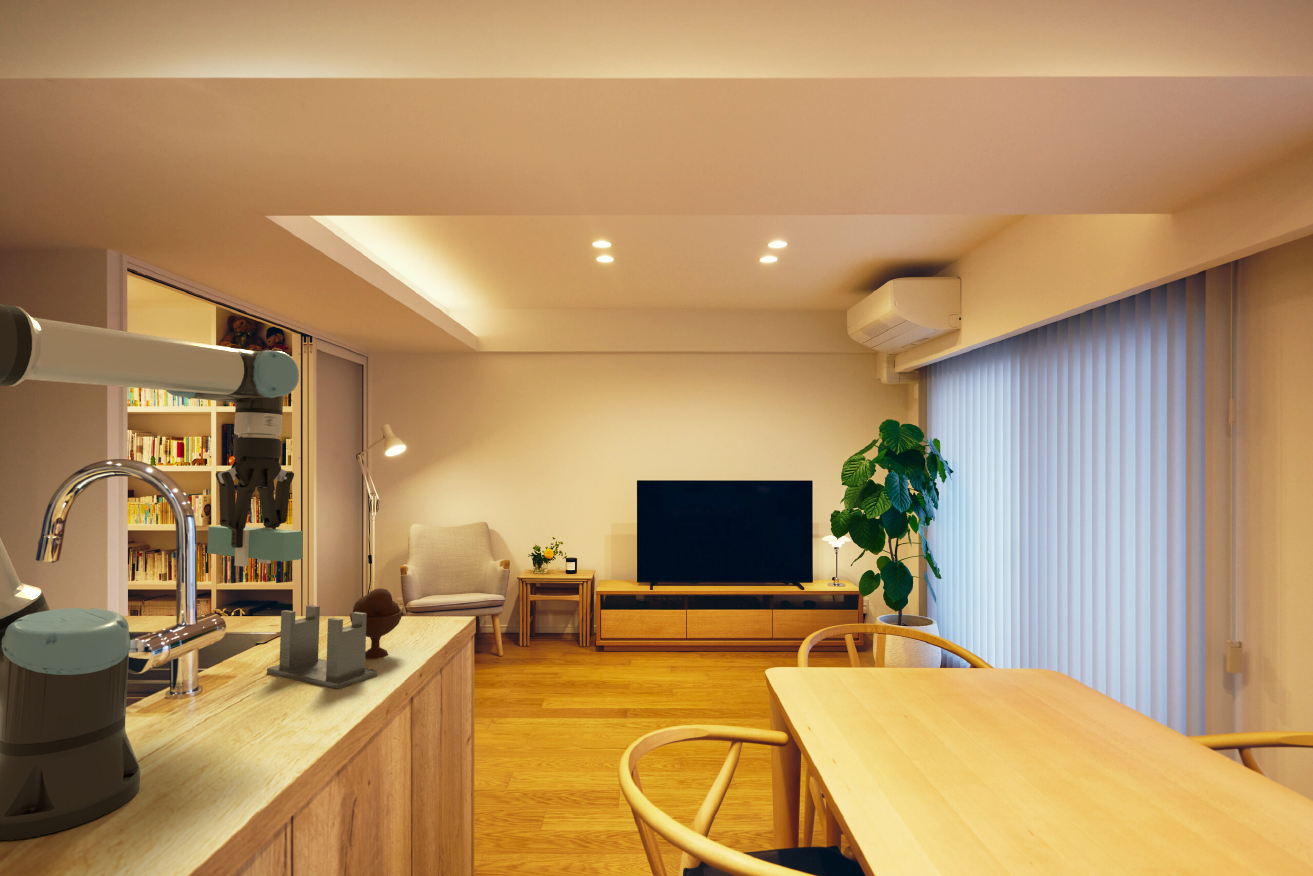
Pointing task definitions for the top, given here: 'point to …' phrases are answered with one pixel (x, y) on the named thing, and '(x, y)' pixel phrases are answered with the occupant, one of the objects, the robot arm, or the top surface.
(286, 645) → the hook standards
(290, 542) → the rail
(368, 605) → the ice cream bowl
